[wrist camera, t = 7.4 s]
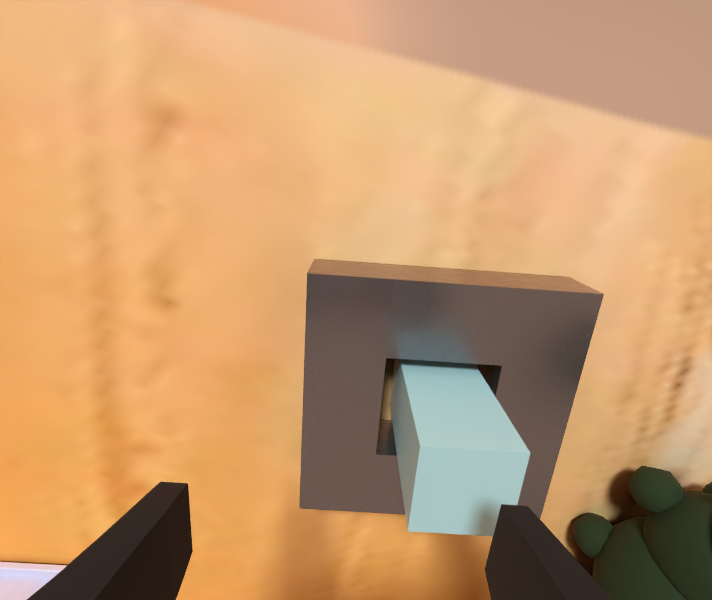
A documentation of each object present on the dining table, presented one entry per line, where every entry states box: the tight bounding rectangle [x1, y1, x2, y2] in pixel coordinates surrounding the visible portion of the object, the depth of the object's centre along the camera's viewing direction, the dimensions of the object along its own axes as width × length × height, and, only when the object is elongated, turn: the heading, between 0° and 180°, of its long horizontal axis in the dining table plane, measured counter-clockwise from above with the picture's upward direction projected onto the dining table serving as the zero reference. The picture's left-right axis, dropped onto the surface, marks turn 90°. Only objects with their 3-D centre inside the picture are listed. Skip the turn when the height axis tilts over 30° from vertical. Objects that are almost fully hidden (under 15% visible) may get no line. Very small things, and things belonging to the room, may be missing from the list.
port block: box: [300, 259, 604, 519], centre depth 17 cm, size 11×11×2 cm
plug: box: [390, 359, 530, 536], centre depth 15 cm, size 3×3×7 cm
